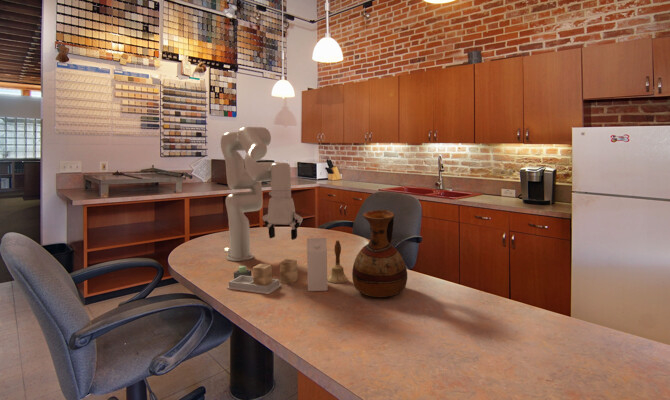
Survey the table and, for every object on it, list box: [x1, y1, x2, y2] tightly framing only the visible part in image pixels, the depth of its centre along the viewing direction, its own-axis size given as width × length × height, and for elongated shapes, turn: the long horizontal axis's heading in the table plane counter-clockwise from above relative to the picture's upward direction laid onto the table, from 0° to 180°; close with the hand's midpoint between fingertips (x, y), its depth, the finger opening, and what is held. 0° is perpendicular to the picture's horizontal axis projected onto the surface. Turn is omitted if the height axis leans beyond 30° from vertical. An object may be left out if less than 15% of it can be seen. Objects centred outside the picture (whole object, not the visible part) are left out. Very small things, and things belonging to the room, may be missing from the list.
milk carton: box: [306, 237, 328, 292], centre depth 147 cm, size 7×7×19 cm
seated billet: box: [252, 263, 273, 286], centre depth 148 cm, size 5×5×8 cm
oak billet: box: [279, 258, 298, 284], centre depth 156 cm, size 5×5×8 cm
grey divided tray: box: [226, 275, 282, 295], centre depth 149 cm, size 18×9×3 cm, turn 69°
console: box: [233, 269, 253, 279], centre depth 160 cm, size 5×5×3 cm
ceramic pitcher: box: [351, 209, 408, 298], centre depth 141 cm, size 20×20×30 cm
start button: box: [238, 265, 247, 273], centre depth 160 cm, size 3×3×4 cm
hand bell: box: [327, 240, 349, 284], centre depth 156 cm, size 8×8×16 cm
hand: (283, 238), depth 154 cm, fingers open, 9 cm apart
